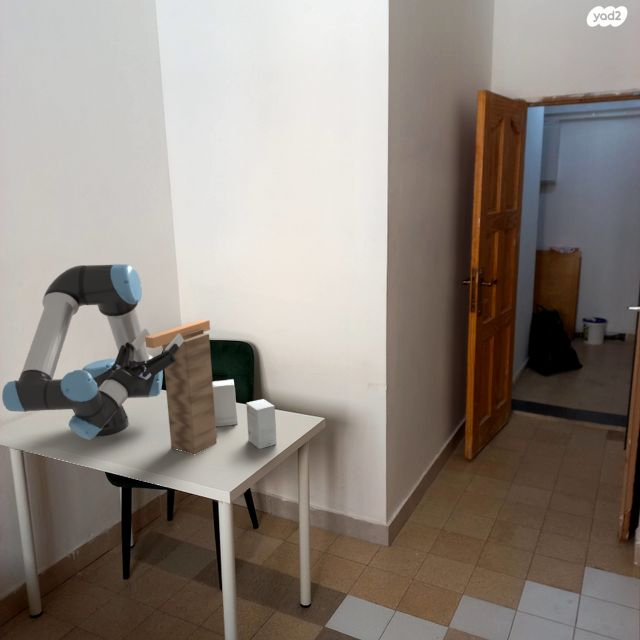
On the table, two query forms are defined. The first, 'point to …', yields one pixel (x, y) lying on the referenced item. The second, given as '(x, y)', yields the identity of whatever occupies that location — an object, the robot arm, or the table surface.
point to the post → (191, 395)
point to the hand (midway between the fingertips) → (164, 334)
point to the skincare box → (224, 403)
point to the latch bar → (175, 333)
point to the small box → (261, 423)
